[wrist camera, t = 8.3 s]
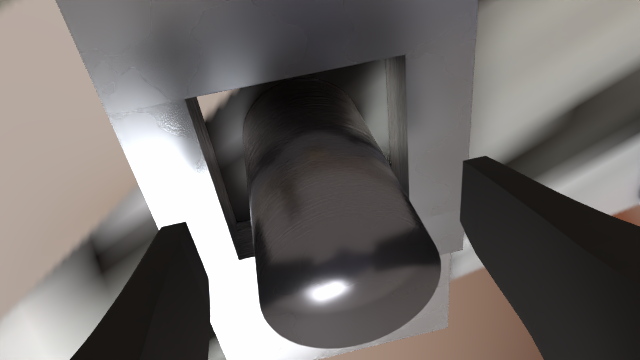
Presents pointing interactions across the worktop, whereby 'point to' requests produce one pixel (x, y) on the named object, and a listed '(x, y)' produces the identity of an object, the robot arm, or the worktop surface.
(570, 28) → the worktop surface
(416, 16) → the upper end link
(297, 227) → the pin
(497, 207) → the robot arm
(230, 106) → the worktop surface
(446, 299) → the lower end link
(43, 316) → the worktop surface
